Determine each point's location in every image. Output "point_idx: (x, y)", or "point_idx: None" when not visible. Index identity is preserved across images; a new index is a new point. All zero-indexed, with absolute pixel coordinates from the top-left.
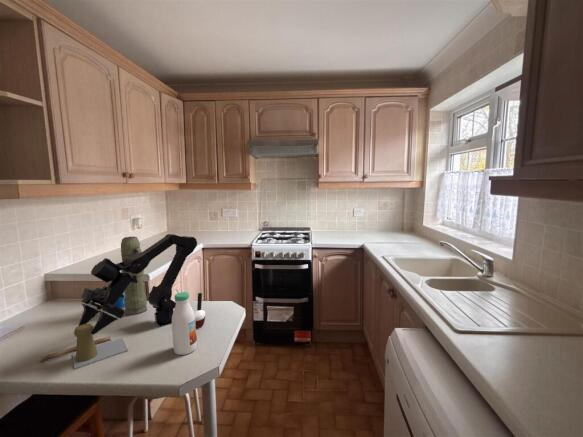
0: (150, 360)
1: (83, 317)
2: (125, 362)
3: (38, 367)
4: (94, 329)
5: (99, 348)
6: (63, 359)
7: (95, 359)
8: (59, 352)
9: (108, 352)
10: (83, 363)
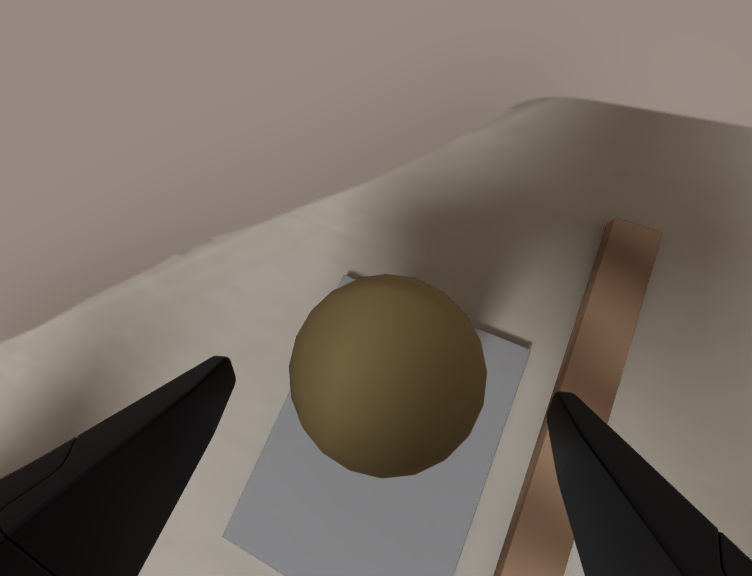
0: None
1: (635, 518)
2: None
3: (550, 201)
4: (170, 388)
5: None
6: (516, 298)
7: None
8: (613, 310)
9: (317, 457)
10: None
